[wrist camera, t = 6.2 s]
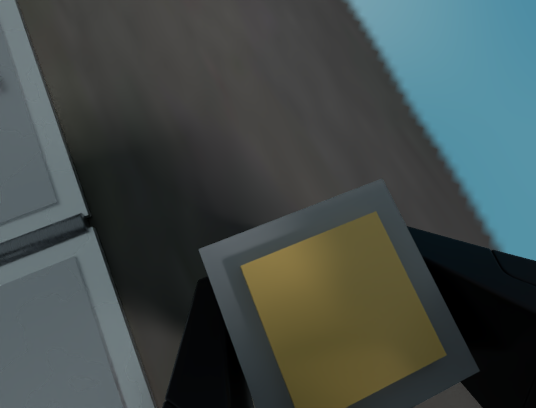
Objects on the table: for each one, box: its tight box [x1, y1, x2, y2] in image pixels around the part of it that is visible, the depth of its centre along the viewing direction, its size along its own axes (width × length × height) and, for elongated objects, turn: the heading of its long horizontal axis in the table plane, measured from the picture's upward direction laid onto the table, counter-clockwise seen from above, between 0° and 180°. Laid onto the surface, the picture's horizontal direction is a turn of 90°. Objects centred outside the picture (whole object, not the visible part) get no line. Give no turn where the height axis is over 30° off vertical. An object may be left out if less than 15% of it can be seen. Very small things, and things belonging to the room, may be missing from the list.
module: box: [199, 179, 480, 408], centre depth 11 cm, size 4×4×10 cm
